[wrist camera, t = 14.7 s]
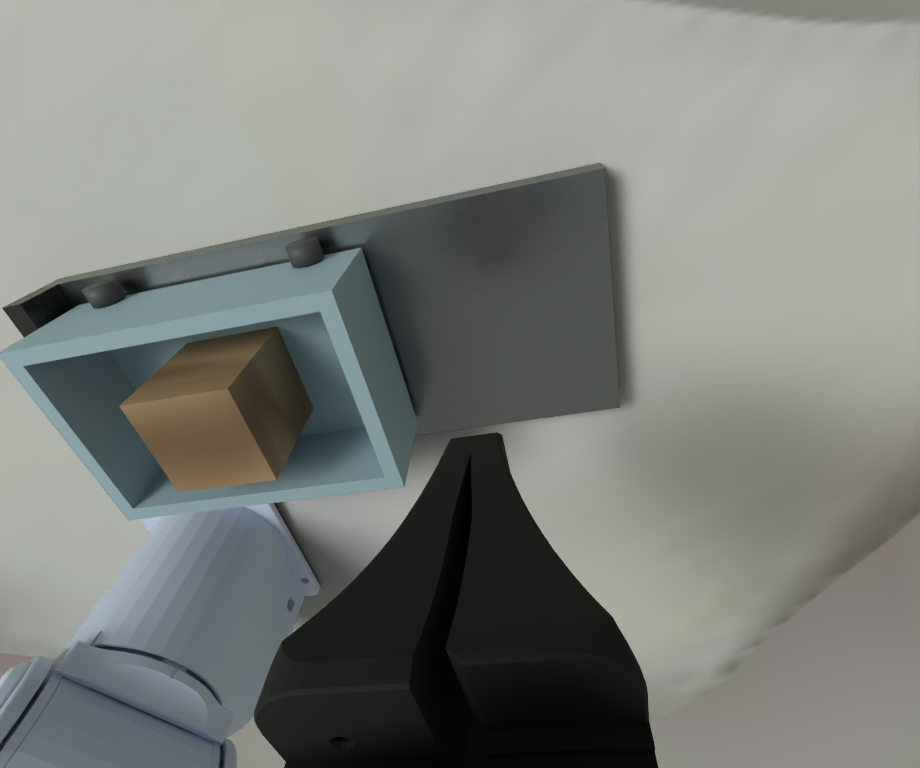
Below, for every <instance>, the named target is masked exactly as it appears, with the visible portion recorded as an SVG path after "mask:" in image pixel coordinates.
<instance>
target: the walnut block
mask: <svg viewBox="0 0 920 768" xmlns="http://www.w3.org/2000/svg"><path fill="white" fill-rule="evenodd" d="M119 407H120V408H121V409H122V411H123V412H124V414H125V415H126V417H127V418H128V420H129V421H130V423H131V424H132V426H133V427H134V428H135V430H136V431H137V433H138V434H139V436H140V437H141V439H142V440H143V442H144V443H145V444H146V446H147V447H148V449H149V450H150V452H151V453H152V455H153V456H154V458H155V459H156V460H157V462H158V463H159V465H160V466H161V468H162V469H163V471H164V472H165V474H166V475H167V476H168V478H169V479H170V481H171V482H172V484H173V485H174V487H175V488H176V490H177V491H178V492H187V491H195V490H203V489H211V488H218V487H226V486H234V485H242V484H250V483H258V482H265V481H273V480H277V479H278V477H279V475H280V473H281V471H282V469H283V467H284V465H285V463H286V461H287V459H288V457H289V455H290V453H291V451H292V449H293V447H294V446H295V444H296V442H297V440H298V438H299V436H300V434H301V432H302V430H303V428H304V426H305V424H306V422H307V420H308V418H309V416H310V414H311V413H312V411H313V409H314V408H313V405H312V403H311V401H310V399H309V396H308V394H307V392H306V390H305V387H304V385H303V383H302V381H301V378H300V376H299V374H298V372H297V369H296V367H295V365H294V363H293V360H292V358H291V356H290V354H289V351H288V349H287V347H286V345H285V342H284V340H283V338H282V336H281V333H280V331H279V329H278V327H272V328H267V329H261V330H256V331H250V332H244V333H239V334H233V335H228V336H222V337H217V338H211V339H206V340H200V341H195V342H189V343H187V344H186V345H184V346H183V347H182V348H181V349H180V350H179V351H178V352H177V353H176V354H175V355H174V356H173V357H172V358H171V359H169V360H168V361H167V362H166V363H165V364H164V365H163V366H162V367H161V368H160V369H159V370H158V371H157V372H155V373H154V374H153V375H152V376H151V377H150V378H149V379H148V380H147V381H146V382H145V383H144V384H143V385H142V386H140V387H139V388H138V389H137V390H136V391H135V392H134V393H133V394H132V395H131V396H130V397H129V398H128V399H127V400H125V401H124V402H123V403H122V404H121V405H120V406H119Z"/></svg>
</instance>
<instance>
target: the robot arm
mask: <svg viewBox="0 0 920 768" xmlns="http://www.w3.org/2000/svg"><path fill="white" fill-rule="evenodd" d="M140 520H141V522H142V523H143V524H144V526H145V527H146V528H147V530H148V531H149V534H148V535H147V536H146V538H145V539H144V541H143V542H142V543H141V545H140V546H139V548H138V549H137V550H136V552H135V553H134V554H133V556H132V557H131V559H130V560H129V561H128V563H127V564H126V565H125V567H124V568H123V570H122V571H121V572H120V574H119V575H118V576H117V578H116V579H115V581H114V582H113V583H112V585H111V586H110V587H109V589H108V590H107V592H106V593H105V594H104V596H103V597H102V599H101V600H100V601H99V603H98V604H97V605H96V607H95V608H94V610H93V611H92V612H91V614H90V615H89V616H88V618H87V619H86V621H85V622H84V623H83V625H82V626H81V627H80V629H79V630H78V632H77V633H76V634H75V636H74V637H73V639H72V640H71V641H70V643H69V644H68V645H67V647H66V648H65V650H64V651H63V652H62V654H60V655H59V656H58V657H57V658H56V659H55V660H54V661H53V662H52V661H50V660H48V659H46V658H43V657H40V656H38V657H35V658H33V659H32V660H31V661H30V662H24V663H21V664H18V665H15V666H13V667H12V668H11V669H9V670H8V671H7V672H6V673H5V674H4V675H3V676H2V677H1V678H0V768H237V752H236V748H235V745H234V744H233V742H232V741H231V740H229V739H226V738H227V737H229V736H231V735H232V734H234V733H236V732H237V731H238V730H240V729H241V728H242V727H244V726H245V725H246V724H247V723H248V722H249V721H250V720H251V719H252V718H253V717H254V721H255V723H256V725H257V727H258V728H259V730H260V731H261V733H262V735H263V736H264V737H265V738H266V739H267V740H268V742H269V743H270V744H271V745H272V746H273V747H274V749H275V750H276V751H277V752H278V753H279V754H280V755H281V757H282V758H283V759H284V760H285V761H286V764H285V767H284V768H658V765H657V760H656V756H655V746H654V741H653V737H652V732H651V728H650V723H649V712H648V692H647V686H646V682H645V679H644V677H643V674H642V671H641V669H640V666H639V664H638V662H637V660H636V658H635V656H634V654H633V652H632V650H631V648H630V647H629V645H628V643H627V641H626V640H625V638H624V636H623V634H622V633H621V631H620V629H619V628H618V626H617V624H616V623H615V621H614V619H613V617H612V616H611V615H610V614H609V613H608V612H607V611H606V610H605V609H604V608H603V607H602V606H601V605H600V604H599V603H598V602H597V601H596V600H595V599H594V598H593V597H592V595H591V594H590V593H589V592H588V591H587V590H586V589H585V588H584V587H583V585H582V584H581V583H580V582H579V581H578V580H577V579H576V578H575V576H574V575H573V574H572V573H571V571H570V570H569V569H568V568H567V566H566V565H565V564H564V562H563V561H562V560H561V559H560V557H559V556H558V555H557V554H556V552H555V551H554V550H553V548H552V547H551V545H550V544H549V542H548V541H547V540H546V538H545V537H544V535H543V534H542V532H541V530H540V529H539V527H538V526H537V524H536V523H535V521H534V519H533V518H532V516H531V514H530V512H529V511H528V509H527V507H526V505H525V503H524V501H523V499H522V498H521V496H520V493H519V491H518V489H517V487H516V485H515V482H514V480H513V478H512V476H511V473H510V469H509V465H508V460H507V455H506V451H505V446H504V442H503V437H502V435H500V434H499V433H490V434H483V435H475V436H468V437H460V438H453V439H451V440H450V442H449V443H448V445H447V447H446V449H445V451H444V453H443V455H442V457H441V459H440V461H439V463H438V465H437V467H436V469H435V471H434V472H433V474H432V476H431V478H430V480H429V481H428V483H427V485H426V486H425V488H424V490H423V492H422V493H421V495H420V497H419V498H418V500H417V501H416V503H415V504H414V506H413V507H412V509H411V511H410V512H409V514H408V515H407V517H406V518H405V520H404V521H403V522H402V524H401V525H400V527H399V528H398V529H397V531H396V532H395V533H394V535H393V536H392V537H391V539H390V540H389V541H388V542H387V544H386V545H385V546H384V547H383V549H382V550H381V551H380V552H379V553H378V554H377V556H376V557H375V558H374V559H373V560H372V561H371V562H370V563H369V565H368V566H367V567H366V568H365V569H364V570H363V571H362V572H361V573H360V574H359V575H358V576H357V578H356V579H355V580H354V581H353V582H352V583H351V584H349V585H348V586H347V587H346V588H345V589H344V590H343V591H342V592H341V593H340V594H339V595H338V596H337V597H336V598H334V599H333V600H332V601H331V602H330V603H329V604H328V605H327V606H326V607H324V608H323V609H322V610H321V611H320V612H318V613H317V614H316V615H315V616H314V617H312V618H311V619H310V620H309V621H307V622H306V623H305V624H303V625H302V626H301V627H300V628H298V629H297V630H296V631H295V632H293V633H292V631H293V629H294V626H295V623H296V620H297V617H298V614H299V612H300V609H301V606H302V603H303V600H304V597H305V596H314V595H317V594H318V593H319V591H320V588H321V587H320V585H319V583H318V581H317V579H316V578H315V576H314V574H313V572H312V570H311V569H310V567H309V565H308V563H307V562H306V560H305V558H304V556H303V554H302V553H301V551H300V549H299V547H298V546H297V544H296V542H295V540H294V539H293V537H292V535H291V533H290V531H289V530H288V528H287V526H286V524H285V523H284V521H283V519H282V517H281V515H280V514H279V512H278V510H277V508H276V507H275V505H274V503H269V504H260V505H252V506H244V507H236V508H227V509H219V510H211V511H202V512H194V513H186V514H178V515H169V516H161V517H153V518H145V519H140Z"/></svg>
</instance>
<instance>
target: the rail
mask: <svg viewBox="0 0 920 768" xmlns="http://www.w3.org/2000/svg"><path fill="white" fill-rule="evenodd" d="M307 237H317V238H318V241H319V244H320V247H321V249H322V252H323V255H327V254H332V253H337V252H342V251H347V250H352V249H357V248H362V251H363V254H364V257H365V261H366V264H367V267H368V270H369V273H370V276H371V279H372V282H373V285H374V289H375V292H376V295H377V298H378V301H379V304H380V307H381V310H382V313H383V316H384V320H385V323H386V326H387V329H388V332H389V335H390V338H391V341H392V344H393V347H394V351H395V354H396V357H397V360H398V363H399V366H400V369H401V372H402V375H403V379H404V382H405V385H406V388H407V391H408V394H409V397H410V400H411V403H412V406H413V410H414V413H415V416H416V419H417V422H418V424H417V429H416V434H415V435H422V434H429V433H437V432H444V431H451V430H458V429H466V428H473V427H480V426H488V425H495V424H502V423H509V422H517V421H524V420H531V419H538V418H546V417H553V416H560V415H568V414H575V413H582V412H589V411H597V410H604V409H611V408H618V407H620V402H619V386H618V370H617V355H616V339H615V323H614V307H613V291H612V276H611V260H610V244H609V228H608V212H607V196H606V181H605V168H604V167H603V166H602V165H601V164H600V163H597V164H593V165H588V166H583V167H579V168H574V169H569V170H565V171H560V172H555V173H551V174H546V175H541V176H537V177H532V178H527V179H523V180H518V181H513V182H509V183H504V184H499V185H495V186H490V187H485V188H481V189H476V190H471V191H467V192H462V193H457V194H453V195H448V196H443V197H439V198H434V199H429V200H425V201H420V202H415V203H411V204H406V205H401V206H397V207H392V208H387V209H383V210H378V211H373V212H369V213H364V214H359V215H355V216H350V217H345V218H341V219H336V220H331V221H327V222H322V223H317V224H312V225H308V226H303V227H298V228H294V229H289V230H284V231H280V232H275V233H270V234H266V235H261V236H256V237H252V238H247V239H242V240H238V241H233V242H228V243H224V244H219V245H214V246H210V247H205V248H200V249H196V250H191V251H186V252H182V253H177V254H172V255H168V256H163V257H158V258H154V259H149V260H144V261H140V262H135V263H130V264H126V265H121V266H116V267H112V268H107V269H102V270H98V271H93V272H88V273H84V274H79V275H74V276H70V277H65V278H60V279H58V280H56V281H54V282H52V283H50V284H48V285H46V286H44V287H42V288H40V289H38V290H36V291H34V292H32V293H30V294H28V295H27V296H25V297H23V298H21V299H19V300H17V301H15V302H13V303H11V304H9V305H7V306H5V307H3V310H4V311H5V312H6V314H7V315H8V316H9V318H10V319H11V320H12V322H13V323H14V324H15V326H16V327H17V328H18V330H19V331H20V332H21V334H22V335H23V337H26V336H28V335H29V334H31V333H33V332H34V331H36V330H38V329H39V328H41V327H43V326H44V325H46V324H48V323H49V322H51V321H53V320H54V319H56V318H58V317H59V316H61V315H63V314H64V313H66V312H68V311H69V310H71V309H73V308H74V307H76V306H78V305H81V304H85V303H89V301H88V300H87V298H86V297H85V295H84V293H83V292H82V290H83V289H84V288H86V287H88V286H90V285H92V284H95V283H97V282H100V281H104V280H107V279H116V281H117V282H118V284H119V286H120V287H121V289H122V291H123V292H124V294H125V295H130V294H135V293H140V292H145V291H150V290H154V289H159V288H164V287H169V286H174V285H179V284H184V283H189V282H194V281H199V280H204V279H209V278H214V277H219V276H223V275H228V274H233V273H238V272H243V271H248V270H253V269H258V268H263V267H268V266H273V265H278V264H283V263H288V262H290V260H289V258H288V255H287V253H286V250H285V246H286V245H288V244H289V243H291V242H294V241H296V240H299V239H303V238H307Z"/></svg>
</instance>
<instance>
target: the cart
mask: <svg viewBox="0 0 920 768" xmlns="http://www.w3.org/2000/svg"><path fill="white" fill-rule="evenodd" d="M285 250H286V253H287V255H288V258H289V260H290V262H288V263H283V264H278V265H273V266H268V267H263V268H258V269H253V270H248V271H243V272H238V273H233V274H228V275H223V276H219V277H214V278H209V279H204V280H199V281H194V282H189V283H184V284H179V285H174V286H169V287H164V288H159V289H154V290H150V291H145V292H140V293H135V294H130V295H125V294H124V292H123V291H122V289H121V287H120V286H119V284H118V282H117V281H116V279H107V280H104V281H100V282H97V283H95V284H92V285H90V286H88V287H86V288H84V289H83V290H82V292H83V293H84V295H85V297H86V298H87V300H88V301H89V303H85V304H81V305H78V306H76V307H74V308H73V309H71V310H69V311H68V312H66V313H64V314H63V315H61V316H59V317H58V318H56V319H54V320H53V321H51V322H49V323H48V324H46V325H44V326H43V327H41V328H39V329H38V330H36V331H34V332H33V333H31V334H29V335H28V336H26V337H24V338H23V339H21V340H19V341H18V342H16V343H14V344H13V345H11V346H9V347H8V348H6V349H4V350H3V351H1V352H0V359H1V360H2V361H3V362H4V364H5V365H6V366H7V368H8V369H9V370H10V371H11V373H12V374H13V375H14V376H15V378H16V379H17V380H18V381H19V383H20V384H21V385H22V387H23V388H24V389H25V390H26V392H27V393H28V394H29V395H30V397H31V398H32V399H33V400H34V402H35V403H36V404H37V406H38V407H39V408H40V409H41V411H42V412H43V413H44V414H45V416H46V417H47V418H48V419H49V421H50V422H51V423H52V425H53V426H54V427H55V428H56V430H57V431H58V432H59V433H60V435H61V436H62V437H63V438H64V440H65V441H66V442H67V443H68V445H69V446H70V447H71V449H72V450H73V451H74V452H75V454H76V455H77V456H78V457H79V459H80V460H81V461H82V462H83V464H84V465H85V466H86V468H87V469H88V470H89V471H90V473H91V474H92V475H93V476H94V478H95V479H96V480H97V481H98V483H99V484H100V485H101V487H102V488H103V489H104V490H105V492H106V493H107V494H108V495H109V497H110V498H111V499H112V500H113V502H114V503H115V504H116V506H117V507H118V508H119V509H120V511H121V512H122V513H123V514H124V516H125V517H126V518H127V519H128V520H136V519H145V518H153V517H161V516H169V515H178V514H186V513H194V512H202V511H211V510H219V509H227V508H236V507H244V506H252V505H260V504H269V503H277V502H285V501H293V500H302V499H310V498H318V497H326V496H335V495H343V494H351V493H359V492H368V491H376V490H384V489H393V488H401V487H404V486H405V481H406V477H407V472H408V467H409V462H410V458H411V453H412V448H413V443H414V439H415V434H416V429H417V424H418V422H417V419H416V416H415V413H414V410H413V406H412V403H411V400H410V397H409V394H408V391H407V388H406V385H405V382H404V379H403V375H402V372H401V369H400V366H399V363H398V360H397V357H396V354H395V351H394V347H393V344H392V341H391V338H390V335H389V332H388V329H387V326H386V323H385V320H384V316H383V313H382V310H381V307H380V304H379V301H378V298H377V295H376V292H375V289H374V285H373V282H372V279H371V276H370V273H369V270H368V267H367V264H366V261H365V257H364V254H363V251H362V248H357V249H352V250H347V251H342V252H337V253H332V254H327V255H323V252H322V249H321V247H320V244H319V241H318V238H317V237H307V238H303V239H299V240H296V241H294V242H291V243H289V244H288V245H286V246H285ZM272 327H278V329H279V331H280V333H281V336H282V338H283V340H284V342H285V345H286V347H287V349H288V351H289V354H290V356H291V358H292V360H293V363H294V365H295V367H296V369H297V372H298V374H299V376H300V378H301V381H302V383H303V385H304V387H305V390H306V392H307V394H308V396H309V399H310V401H311V403H312V405H313V408H314V409H313V411H312V413H311V414H310V416H309V418H308V420H307V422H306V424H305V426H304V428H303V430H302V432H301V434H300V436H299V438H298V440H297V442H296V444H295V446H294V447H293V449H292V451H291V453H290V455H289V457H288V459H287V461H286V463H285V465H284V467H283V469H282V471H281V473H280V475H279V477H278V479H277V480H273V481H265V482H258V483H250V484H242V485H234V486H226V487H218V488H211V489H203V490H195V491H187V492H178V491H177V490H176V488H175V487H174V485H173V484H172V482H171V481H170V479H169V478H168V476H167V475H166V474H165V472H164V471H163V469H162V468H161V466H160V465H159V463H158V462H157V460H156V459H155V458H154V456H153V455H152V453H151V452H150V450H149V449H148V447H147V446H146V444H145V443H144V442H143V440H142V439H141V437H140V436H139V434H138V433H137V431H136V430H135V428H134V427H133V426H132V424H131V423H130V421H129V420H128V418H127V417H126V415H125V414H124V412H123V411H122V409H121V408H120V407H119V406H120V405H121V404H122V403H123V402H124V401H125V400H127V399H128V398H129V397H130V396H131V395H132V394H133V393H134V392H135V391H136V390H137V389H138V388H139V387H140V386H142V385H143V384H144V383H145V382H146V381H147V380H148V379H149V378H150V377H151V376H152V375H153V374H154V373H155V372H157V371H158V370H159V369H160V368H161V367H162V366H163V365H164V364H165V363H166V362H167V361H168V360H169V359H171V358H172V357H173V356H174V355H175V354H176V353H177V352H178V351H179V350H180V349H181V348H182V347H183V346H184V345H186V344H187V343H189V342H195V341H200V340H206V339H211V338H217V337H222V336H228V335H233V334H239V333H244V332H250V331H256V330H261V329H267V328H272Z"/></svg>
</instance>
